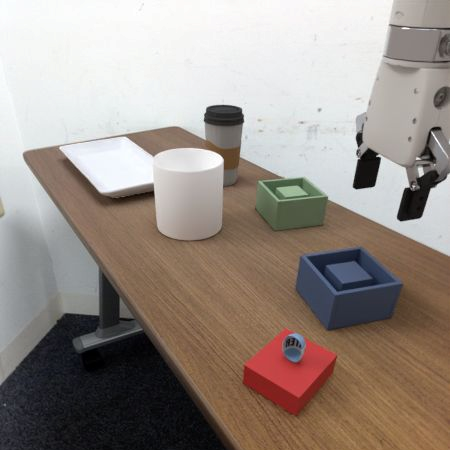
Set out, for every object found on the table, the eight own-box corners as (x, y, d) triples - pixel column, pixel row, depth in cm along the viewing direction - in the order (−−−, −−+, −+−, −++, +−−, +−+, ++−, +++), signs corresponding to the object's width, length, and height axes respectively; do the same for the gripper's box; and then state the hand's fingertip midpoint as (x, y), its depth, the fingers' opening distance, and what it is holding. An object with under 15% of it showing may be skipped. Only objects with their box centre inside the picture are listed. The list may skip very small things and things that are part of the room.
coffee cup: (248, 183, 93) (253, 111, 85) (217, 191, 90) (218, 115, 81) (227, 172, 99) (229, 102, 90) (196, 178, 95) (195, 106, 86)
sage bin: (300, 203, 86) (304, 176, 82) (323, 224, 78) (328, 196, 75) (255, 208, 83) (257, 180, 80) (274, 231, 76) (277, 201, 73)
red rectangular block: (282, 345, 52) (289, 304, 48) (332, 372, 48) (343, 330, 45) (242, 383, 47) (246, 340, 43) (295, 416, 43) (304, 372, 40)
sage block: (294, 207, 83) (297, 185, 80) (305, 217, 79) (308, 194, 77) (273, 209, 82) (275, 187, 79) (282, 220, 78) (285, 197, 76)
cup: (228, 238, 73) (230, 169, 66) (160, 243, 71) (155, 173, 64) (215, 209, 82) (216, 146, 75) (154, 213, 80) (149, 149, 73)
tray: (102, 208, 81) (100, 191, 79) (60, 159, 103) (57, 144, 100) (182, 192, 89) (181, 176, 87) (126, 149, 110) (125, 135, 108)
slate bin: (353, 278, 64) (361, 246, 61) (391, 317, 57) (403, 283, 54) (295, 288, 62) (300, 254, 58) (327, 330, 54) (335, 295, 51)
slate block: (348, 287, 61) (354, 260, 59) (365, 305, 58) (373, 278, 55) (320, 292, 60) (325, 265, 57) (336, 311, 57) (342, 283, 54)
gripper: (521, 57, 38) (457, 229, 48) (401, 36, 51) (371, 174, 61) (452, 61, 36) (401, 238, 47) (346, 38, 49) (325, 180, 60)
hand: (384, 202), depth 54 cm, fingers open, 9 cm apart
